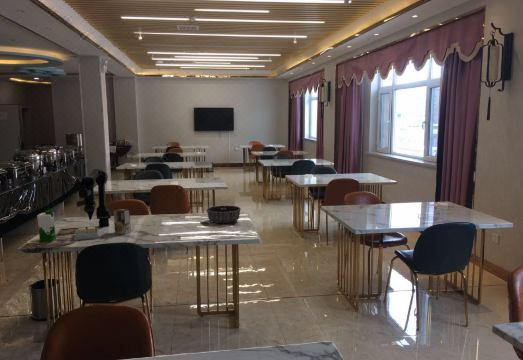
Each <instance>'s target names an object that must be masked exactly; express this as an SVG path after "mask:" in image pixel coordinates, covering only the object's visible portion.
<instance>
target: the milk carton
mask: <svg viewBox="0 0 523 360" xmlns="http://www.w3.org/2000/svg"><path fill="white" fill-rule="evenodd" d="M36 217H37V222H38V223H37V224H38V225H37V226H38V236H39V242H40V243H52V242H54V240H56V230H55V229H56V227H55V226H56V225H55V212H53V210H52V209H47V210H45V212H41V213H38V214H37V215H36Z"/></svg>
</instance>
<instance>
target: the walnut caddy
mask: <svg viewBox="0 0 523 360" xmlns="http://www.w3.org/2000/svg"><path fill="white" fill-rule="evenodd" d="M84 227H86V229H88V227H89V226H80V227H79V226H77V227H68V228H66V227H65V228H60V229H59V231H58V233H57V235H58V236H65V235H75V233H76V230H78V228H84Z"/></svg>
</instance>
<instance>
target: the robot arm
mask: <svg viewBox="0 0 523 360" xmlns="http://www.w3.org/2000/svg"><path fill="white" fill-rule="evenodd" d="M108 177H109V176H108V173H107V172H105V171H103V170H102V169H100V168H94V169H93V170H92V171H91V172H90V174H88V175H85V176H82V178H81V182H80V188H81V189H80V191H78V196H79V197H80V198H81V199H79V200H77V201H76V202H75V204H76V206H77V208H80V207H82V206H84V207H83V211H84V212H85V213H86V215H87V217H88V219H89V221H90V220H92V218H93V215H94V213H95V215H96V219H97V220H98V227H99V228H109V227H110V221H109V219H111V218H112V215H111V212H110V210H109V207H108V205H107V204H106V202H107V201H106V200H107V199H106V184H107V182H108ZM95 183H96V184H95ZM95 185H97V191H98V192H97V193H98V207H97V208H96V205H97V203H96V201H95V194H94V191H95V190H94V189H95V188H94V187H95ZM95 209H96V212H95Z"/></svg>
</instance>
